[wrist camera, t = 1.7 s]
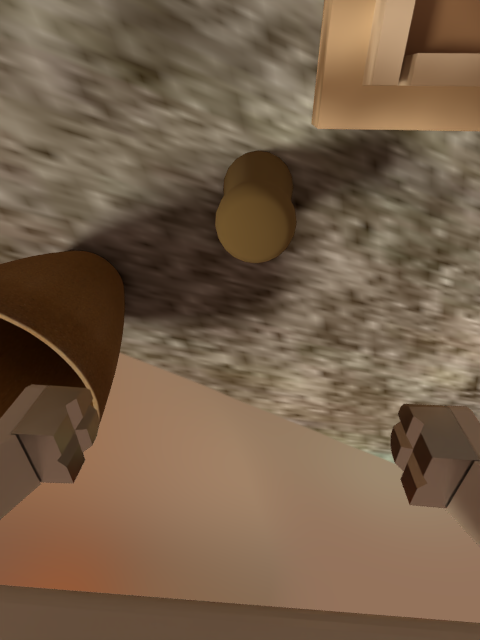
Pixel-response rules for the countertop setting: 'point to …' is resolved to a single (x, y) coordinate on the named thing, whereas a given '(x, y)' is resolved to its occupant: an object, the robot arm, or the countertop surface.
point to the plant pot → (60, 324)
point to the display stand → (399, 65)
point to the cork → (256, 208)
